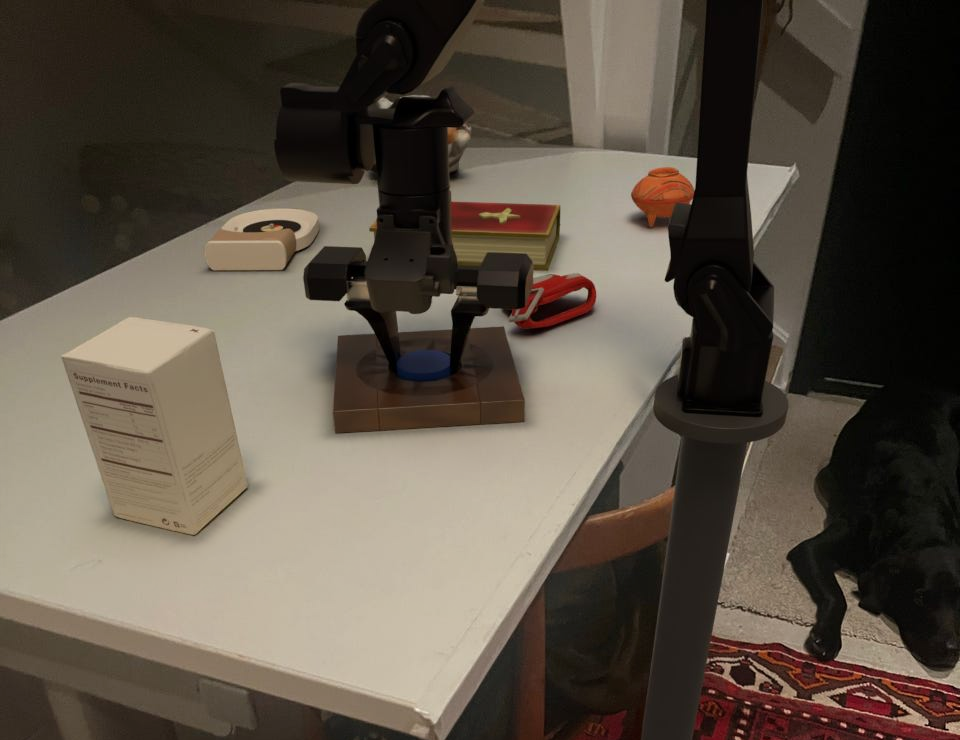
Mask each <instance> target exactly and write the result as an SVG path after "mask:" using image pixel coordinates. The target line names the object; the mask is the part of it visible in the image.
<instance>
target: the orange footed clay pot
mask: <svg viewBox="0 0 960 740" xmlns="http://www.w3.org/2000/svg"><path fill="white" fill-rule="evenodd" d="M694 191H695V187H694V186H693V184H692V183H691V182H690V180H689V179H688V178H687V177H686V176H685V175H683V174H682V173H680V170H679V169H678V168H676V167H671V166H665V167H657V168H654V169H651V170H649V171H648V172H647V175H646V176H644V177H643V178H641V179H640V180H639V181H638V182H637V183H636V184H635V185H634V187H633V188H632V190H631V193H630V197H631V200H632V203H634V204H635V206H636V207H637V208H638V209H639V210H640V211H641V212H643V214H644V215H645V216H646V218H647V222H648V226H649V227H650V228H654V224H655V222H656V219H657V218H668V217H671V215H672V212H673V209H674V205H675V203H676V202H679V203H685V204H691V202H692V200H693V195H694Z"/></svg>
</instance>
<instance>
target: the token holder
mask: <svg viewBox="0 0 960 740" xmlns="http://www.w3.org/2000/svg"><path fill="white" fill-rule="evenodd" d="M398 333H399V342H400V357H401V356H403V355H404V354H407V353H410V352H413V351H419V350H435V351H440V352H444V353H446V354H448V355H449V356H450V352H451V337H452V328H450V329H434V330H433V329H432V330H415V331H398ZM336 342H337V343H336V358H335V372H334V387H333V399H332V400H333V402H332V417H333V424H334V425H333V426H334V432H335V433H336V434H343V433H358V432H374V431H375V432H377V431H390V430H391V431H392V430H409V429H424V428H426V429H427V428H439V427H440V428H441V427H456V426H472V425H474V426H475V425H491V424H492V425H493V424H505V423H506V424H507V423H508V424H509V423H525V418H526V417H525V415H526V410H525V409H526V399H525V396H524V392H523V389H522V386H521V382H520V379H519V375H518V372H517V368H516V365H515V361H514V357H513V354H512V350H511V347H510V344H509V340H508V337H507V333H506V329H505V327H504V326H486V327H471V328H470V332H469V335H468V338H467V342H466V345H465V348H464V352H463V355H462V358H461V362H460V365H459V368H458V372H457V373H456V374H454V375H452V376H450V377H448V378H445V379H441V380H437V381H426V382H416V381H408V380H403V379H400V378H398V374H397V373H393V371H392V369H391V367H390V364H389V362H388V360H387V358H386V356H385V354H384V352H383V349H382V347H381V345H380V343H379V341H378V339H377V337H376V335H375V333H361V334H345V335H344V334H343V335H338V336H337V341H336Z"/></svg>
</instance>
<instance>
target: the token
mask: <svg viewBox="0 0 960 740" xmlns="http://www.w3.org/2000/svg"><path fill="white" fill-rule="evenodd" d="M397 374H398V378H400V379H403V380H408V381H416V382H426V381H437V380H441V379H445V378H448V377H450V376H451V370H450V356H449V355H448V354H446V353H444V352H440V351H435V350H419V351H413V352H410V353H407V354H404V355H403V356H401V357H400V358H399V359H398V361H397Z"/></svg>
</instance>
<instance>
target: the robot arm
mask: <svg viewBox="0 0 960 740" xmlns="http://www.w3.org/2000/svg"><path fill="white" fill-rule="evenodd" d="M485 1H486V0H376V1H375V2H374V3H372V4H371V5H370V6H369V7H367V9H366V10H365V11H364V12H363V13H362V14H361V17H360V18H359V20H358V22H357V25H356V28H355V32H354V37H355V51H356V55H355V57H354V59H353V61H352V62H351V65H350V67H349V69H348V70H347V73H346V74H345V76H344V77H343V80H342V82H341V83H340V86H315V85H311V84H308V83H304V82H290V83H288V84H286V85H283V86H282V87H281V88H280V89H279V95H280V101H281V105H280V108H279V111H278V113H277V117H276V118H277V119H276V126H275V127H276V128H275V138H274V139H273V147H274V154H275V158H276V163H277V166H278V168H279V170H280V172H281V174H282V176H283V177H284V178H285V179H286V180H287V181H289V182H297V183H320V184H338V185H339V184H342V185H358V184H359V183H360V182H361V181H362V179H363V177H364V175H365V173H366V172H370V171H371V169H372V167H373V165H374V161H375V160H376V172H375V173H376V182H377V195H378V205H379V206H378V207H377V208H376V218H375V221H376V220H377V231H376V236H375V240H374V241H373V245H372V246H371V249H370V253H369V256H368V258H367V255H366V253H365V251H364V249H363V247H361V246H360V247H359V246H358V247H357V246H354V247H353V246H331V245H328V246H327V245H324V246H323V247H322V248H321V249H320V250H319V251H318V252H317V254H316V255H314V257H313V258H312V259H311V260H310V261H309V262H308V264H307V265H306V266H305V267H304V269H303V276H302V279H303V287H304V288H303V289H304V293H305V295H304V296H305V298H306V299H307V300H309V301H319V302H320V301H321V302H323V301H324V302H341V300H343V298H344V297H345V296H346V300H345V302H344V303H343V306H344V308H345V309H346V310H347V311H351V312H352V311H353V312H356V313H358V314H359V315H360V316H362V318H363V319H365V320H366V322H367V323H368V325H369V326H370V328H371V329H372V332H373V334H375V335H376V337H377V339H378V341H379V343H380V345H381V347H382V349H383V352H384V354H385V356H386V358H387V360H388V362H389V364H390V367H391V369H392V371H393V373H397V361H398V359H399V358H400V342H399V333H398V332H399V326H398V317H397V312H407V313H409V314H411V315H421V314H424V313H426V312H428V311H429V310H430V309H431V307H432V304H433V297H436V298H440V297H441V295H453V294H454V293H455V295H456V296H457V298H456V300H455V302H454V304H453V306H452V307H451V309H450V317H451V321H452V322H451V324H452V326H451V329H452V337H451V352H450V370H451V376H452V375H454V374H456V373H457V372H458V368H459V365H460V362H461V358H462V355H463V352H464V348H465V345H466V342H467V338H468V335H469V332H470V328H472V325H473V323H474V320H475V318H476V317H484V316H486V315H488V313H489V311H490V309H496V310H497V309H498V310H507V309H521V308H524V307H525V306H526V303H527V301H528V298H529V295H530V292H531V290H532V287H533V278H534V270H533V261H532V260H531V259H530V258H529V256H528V255H527V254H524V253H497V252H487V254H486V256H485V258H484V260H483V261H482V263H481V265H480V266H473V265H458V264H457V256H456V253H455V250H454V247H453V243H452V230H451V204H452V203H451V202H452V190H451V185H450V183H451V182H450V173H449V153H448V127H450V128H460V127H462V126H463V125H464V124H465V123H466V124H467V123H468V122H470V120H472V119H473V117H474V116H475V110H474V108H473V107H472V106H471V105H470V104H469V103H467V101H465V99H463V98H461V96H460V95H459V94H458V92H457V90H456V88H455V86H454V85H453V84H449V85H447V86H446V87H444V88H443V89H442V90H441V91H440V93H438V96H436V97H434V96H432V97H431V96H429V97H408V96H409V95H407V94H409V93H411V92H413V91H415V90H416V89H418V88H419V87H421V86H422V85H424V84H426V83H427V82H429V81H431V80H432V79H433V78H435V77H436V76H437V75H439V74H440V73H441V72H442V71H444V69H445V68H446V66H448V63H449V62H450V60H451V59H452V57H453V56H454V55H455V52H456V51H457V50H458V48H459V47H460V45H461V43H462V41H463V40H464V38H465V37H466V35H467V33H468V32H469V30H470V29H471V26H472V25H473V22H474V21H475V19H476V17H477V15H478V13H479V11H480V9H481V8H482V6H483V4H484V3H485ZM763 5H764V0H706V6H705V21H704V22H705V23H704V37H703V54H702V55H703V56H702V72H701V87H700V88H701V90H700V104H699V105H700V107H699V121H698V134H697V135H698V136H697V153H696V170H695V171H696V172H695V185H694V195H693V199H692V200H691V203H690V204H685V203H679V202H676V203H675V205H674V209H673V212H672V215H671V216H670V219H669V222H668V225H667V234H668V244H669V250H670V251H669V253H670V258H669V261H668V266H667V269H666V273H665V276H664V282H665V283H670V282H671V281H673V285H672V287H673V297H674V299H675V302H676V304H677V305H678V307H680V308H681V310H683V311H684V313H686V315H688V316H689V317H692V320H691V329H690V335H689V336H685V337H683V339H682V341H681V350H680V355H679V356H680V357H679V366H678V373H677V375H678V380H677V395H678V396H679V397H682V412H684V413H691V414H708V415H725V416H742V417H761V416H762V415H763V404H762V394H763V389H764V384H765V381H766V378H767V372H768V367H769V362H770V357H771V353H772V352H771V351H772V347H773V346H772V345H773V341H774V331H773V329H774V316H775V315H774V312H775V285H774V284H773V283H772V282H771V281H770V279H769V278H768V277H767V275H766V274H765V273H764V271H762V269H761V268H760V266H758V264H757V263H756V262H755V261H754V260H755V247H754V236H753V222H752V211H751V210H752V209H751V200H750V190H749V183H748V182H749V181H748V170H749V169H748V167H749V157H750V147H751V136H752V135H751V134H752V124H753V115H754V114H753V113H754V104H755V93H756V84H757V83H756V81H757V72H758V71H757V70H758V59H759V51H760V49H759V48H760V40H761V39H760V37H761V29H762V27H761V26H762V18H763V17H762V16H763ZM389 94H393V95H402V96H401V97H402V98H400V100H399V101H398V103H397V105H396V108H395V109H377V108H376V107H374V108H373V107H369V106H372V105H374V104H376V103H377V101H378V100H379V99H381V98H383V97H386V96H388V95H389ZM403 96H404V97H403Z"/></svg>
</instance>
